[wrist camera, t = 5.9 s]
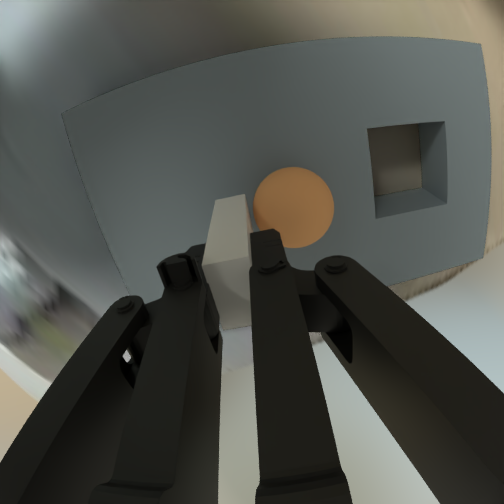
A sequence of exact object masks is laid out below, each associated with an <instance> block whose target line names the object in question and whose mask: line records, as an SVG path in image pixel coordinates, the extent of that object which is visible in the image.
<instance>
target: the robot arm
mask: <svg viewBox="0 0 504 504" xmlns="http://www.w3.org/2000/svg"><path fill="white" fill-rule="evenodd" d="M156 268H157V270H158V273H159V275H160V278H161V280H162V283H163V285H164V291H163V294H162V297H161V298H160V299H157V300H155V301H152V302H149V303H147V304H145V303H144V301H143V299H142V298H141V297H140V296H137V295H131V296H125V297H122V298H120V299H119V300H118V301H116V302H115V303H114V304H113V305H111V306H110V308H109V309H108V310H107V311H106V313H105V314H104V315H103V316H102V318H101V319H100V320H99V321H98V323H97V324H96V325H95V327H94V328H93V329H92V330H91V332H90V333H89V334H88V336H87V337H86V338H85V340H84V341H83V342H82V343H81V345H80V346H79V347H78V349H77V350H76V351H75V353H74V354H73V355H72V357H71V358H70V359H69V361H68V362H67V364H66V365H65V366H64V368H63V369H62V370H61V372H60V373H59V375H58V376H57V377H56V379H55V380H54V382H53V383H52V384H51V386H50V387H49V389H48V390H47V391H46V393H45V394H44V396H43V397H42V399H41V400H40V402H39V403H38V404H37V406H36V408H35V409H34V411H33V412H32V414H31V415H30V417H29V418H28V419H27V421H26V423H25V424H24V426H23V427H22V429H21V430H20V432H19V434H18V435H17V437H16V438H15V440H14V441H13V443H12V444H11V446H10V448H9V449H8V451H7V453H6V454H5V456H4V458H3V459H2V461H1V462H0V504H218V468H219V465H218V464H219V426H220V394H221V368H222V344H223V339H222V335H221V333H220V330H219V321H220V323H221V325H222V328H223V330H228V329H234V328H240V327H246V326H252V342H253V361H254V379H255V398H256V416H257V432H258V452H259V469H260V483H259V486H258V487H257V489H256V496H255V504H353V503H352V499H351V494H350V490H349V486H348V482H347V479H346V476H345V474H344V472H343V471H342V468H341V465H340V461H339V456H338V452H337V447H336V443H335V438H334V434H333V430H332V426H331V421H330V417H329V413H328V408H327V404H326V400H325V396H324V392H323V388H322V384H321V380H320V376H319V372H318V368H317V364H316V360H315V356H314V352H313V348H312V344H311V340H310V336H309V332H321V335H322V337H323V339H324V340H325V342H326V343H327V344H328V346H329V347H330V349H331V350H332V351H333V353H334V354H335V356H336V357H337V358H338V360H339V361H340V363H341V364H342V365H343V367H344V368H345V370H346V371H347V372H348V374H349V375H350V376H351V378H352V379H353V381H354V382H355V384H356V385H357V386H358V388H359V389H360V391H361V392H362V393H363V395H364V396H365V398H366V399H367V400H368V402H369V403H370V405H371V406H372V407H373V409H374V410H375V412H376V413H377V415H378V416H379V417H380V419H381V420H382V422H383V423H384V424H385V426H386V427H387V428H388V430H389V431H390V433H391V434H392V436H393V437H394V438H395V440H396V441H397V443H398V444H399V446H400V447H401V448H402V450H403V451H404V453H405V454H406V455H407V457H408V458H409V460H410V461H411V462H412V464H413V465H414V467H415V468H416V470H417V471H418V472H419V474H420V475H421V477H422V478H423V480H424V481H425V482H426V484H427V485H428V487H429V488H430V490H431V491H432V493H433V494H434V495H435V497H436V498H437V499H438V501H439V503H440V504H504V393H503V392H502V391H501V390H500V389H499V388H498V387H497V386H495V385H494V383H493V382H491V381H490V380H489V379H488V378H487V377H486V376H485V375H484V374H483V373H482V372H481V371H480V370H479V369H478V368H477V367H476V366H475V365H474V364H473V363H472V362H471V361H470V360H469V359H468V358H467V357H465V356H464V355H463V354H462V353H461V352H460V351H459V350H458V349H457V348H456V347H455V346H454V345H452V344H451V343H450V342H449V341H448V340H447V339H446V338H445V337H444V336H443V335H442V334H440V333H439V332H438V331H437V330H436V329H435V328H434V327H433V326H431V325H430V324H429V323H428V322H427V321H426V320H425V319H424V318H423V317H421V316H420V315H419V314H418V313H417V312H416V311H415V310H414V309H412V308H411V307H410V306H409V305H408V304H407V303H405V302H404V301H403V300H402V299H401V298H400V297H398V296H397V295H396V294H395V293H394V292H393V291H391V290H390V289H389V288H388V287H387V286H386V285H384V284H383V283H382V282H381V281H380V280H378V279H377V278H376V277H375V276H374V275H372V274H371V273H370V272H369V271H368V270H366V269H365V268H364V267H363V266H361V265H360V264H359V263H358V262H357V261H355V260H354V259H352V258H350V257H347V256H342V255H333V256H330V257H326V258H323V259H321V260H319V261H318V262H317V263H316V264H315V268H314V270H300V269H296V268H294V267H292V266H291V265H290V263H289V262H288V260H287V257H286V253H285V250H284V246H283V243H282V239H281V236H280V232H278V231H277V230H275V229H268V230H263V231H258V232H253V228H252V223H251V219H250V214H249V210H248V205H247V201H246V196H245V194H242V195H237V196H232V197H228V198H223V199H218V200H215V205H214V209H213V214H212V218H211V223H210V227H209V232H208V237H207V242H206V243H204V244H199V245H194V246H191V247H190V248H189V249H188V250H187V251H186V252H185V253H178V254H175V255H172V256H169V257H167V258H165V259H164V260H162V261H161V262H160V263H159V264H158V265H157V267H156ZM126 350H127V351H128V352H129V354H130V356H131V359H130V360H129V361H128V362H126V361H125V359H124V358H123V354H124V353H125V351H126Z"/></svg>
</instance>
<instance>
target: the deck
mask: <svg viewBox="0 0 504 504" xmlns="http://www.w3.org/2000/svg"><path fill="white" fill-rule="evenodd" d="M61 114H62V118H63V121H64V125H65V129H66V132H67V135H68V139H69V142H70V145H71V148H72V152H73V155H74V158H75V161H76V164H77V167H78V170H79V173H80V176H81V179H82V182H83V184H84V187H85V190H86V193H87V195H88V198H89V201H90V203H91V206H92V209H93V211H94V214H95V216H96V219H97V222H98V224H99V226H100V229H101V231H102V234H103V236H104V239H105V241H106V243H107V246H108V248H109V250H110V253H111V255H112V257H113V259H114V262H115V264H116V266H117V268H118V271H119V273H120V275H121V277H122V279H123V281H124V283H125V285H126V288H127V290H128V292H129V294H130V296H131V295H137V296H140V297H141V298H142V299H143V301H144V303H145V304H147V303H149V302H152V301H155V300H157V299H160V298H161V297H162V294H163V291H164V285H163V283H162V280H161V278H160V275H159V273H158V270H157V268H156V267H157V265H158V264H159V263H160V262H161V261H162V260H164V259H165V258H167V257H169V256H172V255H175V254H178V253H185V252H186V251H187V250H188V249H189V248H190V247H191V246H194V245H199V244H204V243H206V242H207V237H208V232H209V227H210V223H211V218H212V214H213V209H214V205H215V200H218V199H223V198H228V197H232V196H237V195H242V194H245V196H246V201H247V205H248V210H249V214H250V219H251V223H252V228H253V232H258V231H260V229H259V228H258V226H257V224H256V222H255V219H254V214H253V200H254V196H255V193H256V190H257V188H258V187H259V185H260V183H261V182H262V181H263V180H264V179H265V178H266V177H267V176H268V175H270V174H271V173H273V172H275V171H277V170H279V169H282V168H287V167H300V168H304V169H307V170H310V171H312V172H314V173H315V174H317V175H318V176H319V177H320V178H322V179H323V180H324V182H325V183H326V184H327V186H328V187H329V189H330V191H331V194H332V197H333V201H334V215H333V219H332V222H331V224H330V227H329V228H328V230H327V231H326V233H325V234H324V235H323V236H322V237H321V238H320V239H319V240H317V241H316V242H314V243H312V244H310V245H308V246H305V247H301V248H287V247H284V250H285V253H286V257H287V260H288V262H289V263H290V265H291V266H292V267H294V268H296V269H300V270H314V268H315V264H316V263H317V262H318V261H319V260H321V259H323V258H326V257H330V256H333V255H342V256H347V257H350V258H352V259H354V260H355V261H357V262H358V263H359V264H360V265H361V266H363V267H364V268H365V269H366V270H368V271H369V272H370V273H371V274H372V275H374V276H375V277H376V278H377V279H378V280H380V281H381V282H382V283H383V284H384V285H386V286H390V285H394V284H398V283H401V282H405V281H408V280H412V279H416V278H419V277H423V276H426V275H429V274H433V273H436V272H440V271H443V270H446V269H450V268H453V267H456V266H459V265H462V264H466V263H469V262H472V261H475V260H478V259H481V258H483V255H484V248H485V241H486V234H487V225H488V215H489V204H490V188H491V123H490V108H489V97H488V87H487V79H486V72H485V65H484V59H483V53H482V48H481V44H477V43H471V42H463V41H455V40H446V39H434V38H420V37H348V38H332V39H321V40H311V41H302V42H294V43H287V44H280V45H273V46H267V47H261V48H256V49H251V50H246V51H241V52H236V53H231V54H227V55H222V56H218V57H214V58H210V59H206V60H202V61H199V62H195V63H191V64H188V65H184V66H181V67H177V68H174V69H171V70H168V71H165V72H161V73H158V74H155V75H152V76H150V77H147V78H144V79H141V80H138V81H135V82H133V83H130V84H127V85H125V86H122V87H120V88H117V89H115V90H112V91H110V92H107V93H105V94H103V95H100V96H98V97H96V98H93V99H91V100H89V101H87V102H84V103H82V104H80V105H78V106H76V107H74V108H72V109H70V110H67V111H65V112H63V113H61ZM413 123H418V128H419V139H420V152H421V170H422V188H418V189H412V190H407V191H402V192H396V193H391V194H386V195H380V196H375V197H374V189H373V178H372V168H371V158H370V150H369V141H368V134H367V129H368V128H376V127H384V126H393V125H403V124H413ZM219 324H221V323H220V321H219Z"/></svg>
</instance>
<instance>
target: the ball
mask: <svg viewBox="0 0 504 504" xmlns="http://www.w3.org/2000/svg"><path fill="white" fill-rule="evenodd" d="M253 214H254V219H255V222H256V224H257V226H258V228H259V229H260V231H263V230H268V229H275V230H277V231H278V232H280V236H281V239H282V243H283V246H284V247H287V248H301V247H305V246H308V245H310V244H312V243H314V242H316V241H317V240H319V239H320V238H321V237H322V236H323V235H324V234H325V233H326V231H327V230H328V228H329V227H330V224H331V222H332V219H333V215H334V201H333V197H332V194H331V191H330V189H329V187H328V186H327V184H326V183H325V182H324V180H323V179H322V178H320V177H319V176H318V175H317V174H315V173H314V172H312V171H310V170H307V169H304V168H300V167H287V168H282V169H279V170H277V171H275V172H273V173H271V174H270V175H268V176H267V177H266V178H265V179H264V180H263V181H262V182H261V183H260V185H259V187H258V188H257V190H256V193H255V196H254V200H253Z"/></svg>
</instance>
